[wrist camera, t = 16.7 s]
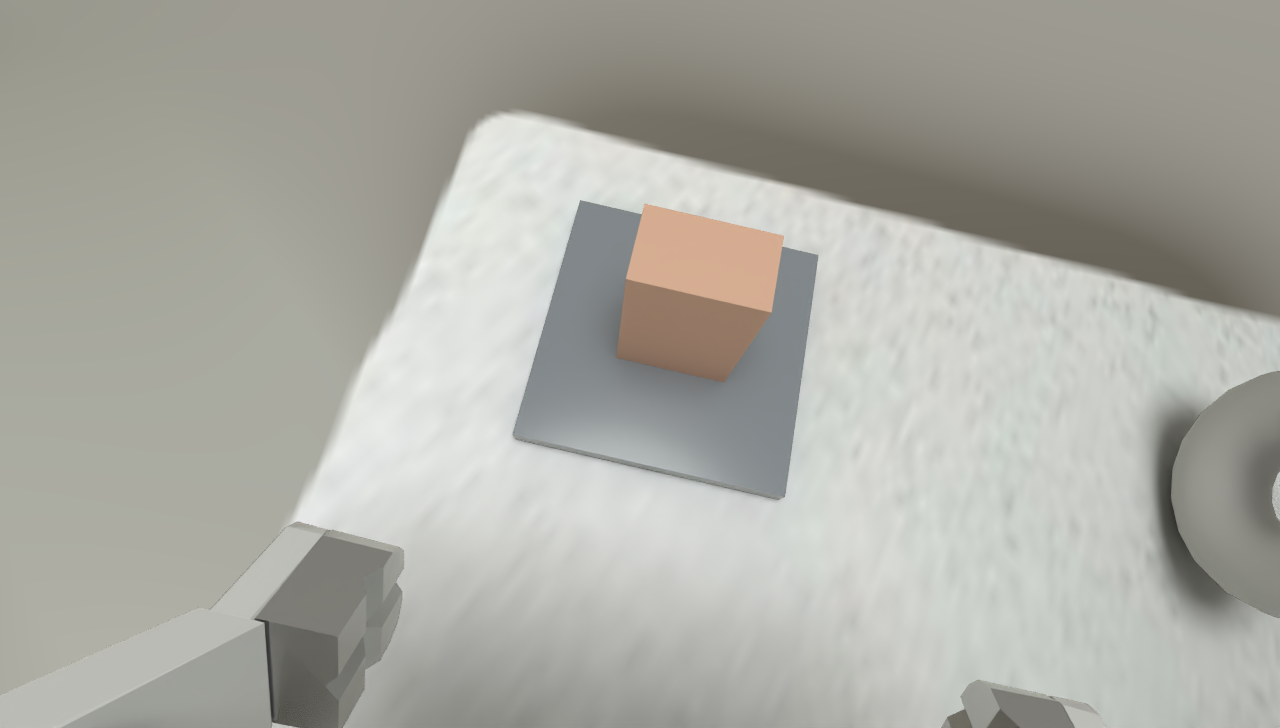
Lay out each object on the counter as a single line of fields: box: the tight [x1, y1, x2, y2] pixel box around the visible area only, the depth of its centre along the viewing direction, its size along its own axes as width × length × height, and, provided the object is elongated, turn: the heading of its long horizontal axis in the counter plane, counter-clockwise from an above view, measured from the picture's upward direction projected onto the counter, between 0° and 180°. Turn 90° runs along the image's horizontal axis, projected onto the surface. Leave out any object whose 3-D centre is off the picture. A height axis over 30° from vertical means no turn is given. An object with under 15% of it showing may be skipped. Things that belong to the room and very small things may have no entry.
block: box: [616, 204, 784, 382], centre depth 26 cm, size 5×3×8 cm, turn 78°
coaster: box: [513, 200, 818, 500], centre depth 30 cm, size 12×12×1 cm
